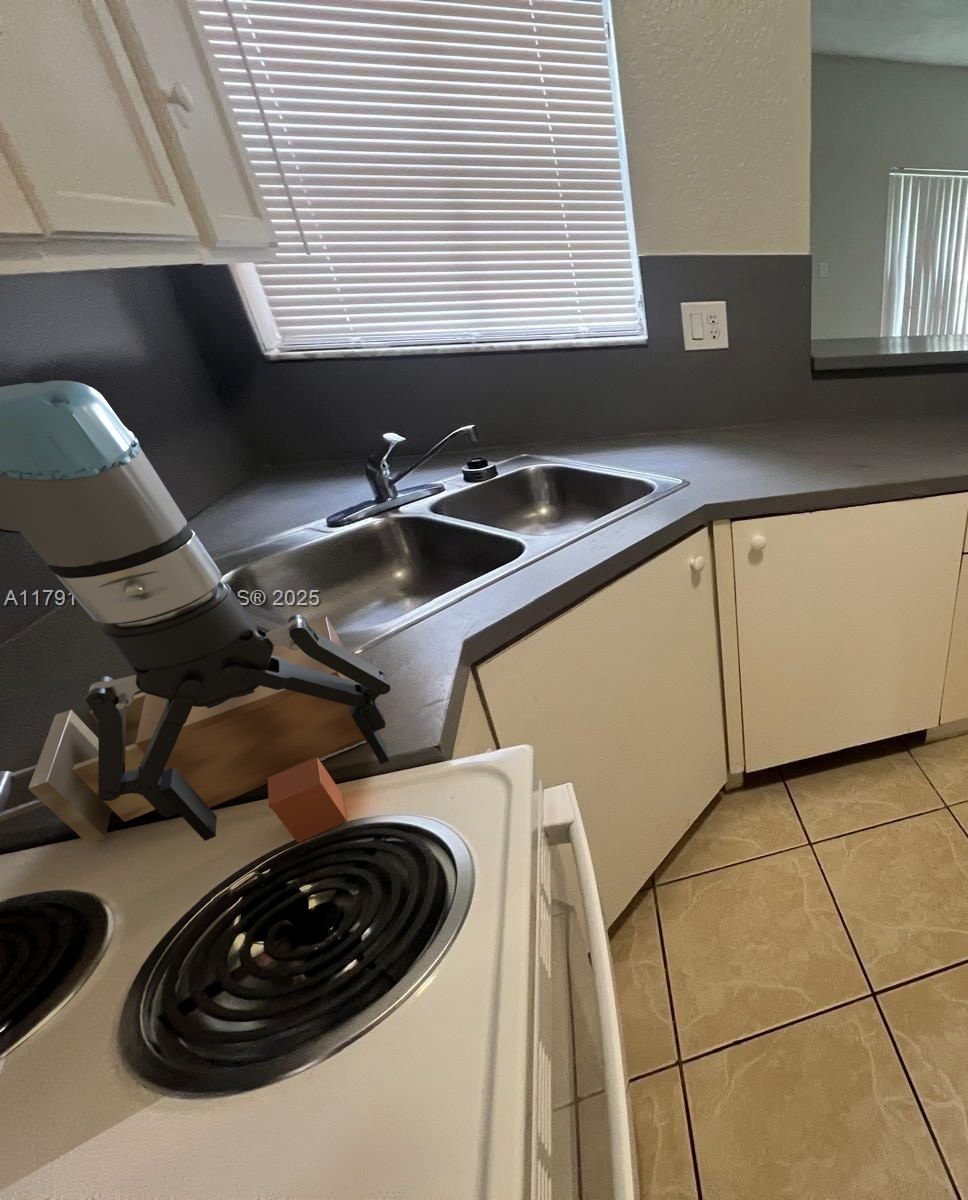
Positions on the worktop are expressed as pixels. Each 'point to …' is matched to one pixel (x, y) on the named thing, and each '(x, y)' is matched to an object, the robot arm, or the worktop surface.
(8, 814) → the drawer
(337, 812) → the block
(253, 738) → the cabinet
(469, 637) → the worktop surface
